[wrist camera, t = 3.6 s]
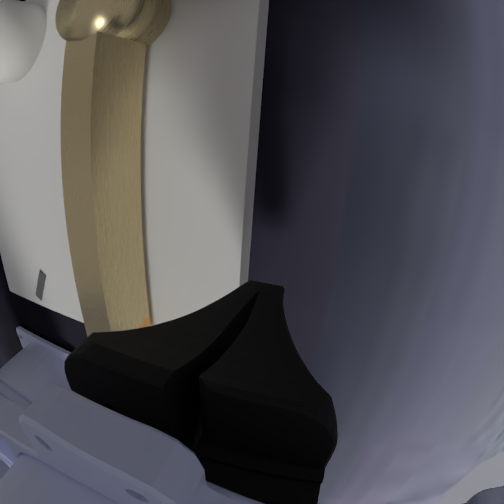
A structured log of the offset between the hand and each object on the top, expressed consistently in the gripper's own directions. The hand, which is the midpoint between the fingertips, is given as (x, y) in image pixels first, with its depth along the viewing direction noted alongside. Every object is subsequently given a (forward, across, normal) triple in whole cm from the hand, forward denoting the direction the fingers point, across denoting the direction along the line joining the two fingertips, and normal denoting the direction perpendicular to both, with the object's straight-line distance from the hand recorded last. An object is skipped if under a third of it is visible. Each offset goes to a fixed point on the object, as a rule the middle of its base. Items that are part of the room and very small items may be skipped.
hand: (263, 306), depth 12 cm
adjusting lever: (+1, +6, -4) cm, 8 cm away
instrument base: (+3, +10, -5) cm, 12 cm away
